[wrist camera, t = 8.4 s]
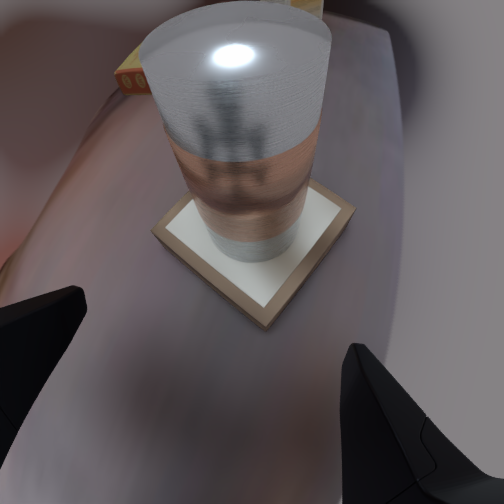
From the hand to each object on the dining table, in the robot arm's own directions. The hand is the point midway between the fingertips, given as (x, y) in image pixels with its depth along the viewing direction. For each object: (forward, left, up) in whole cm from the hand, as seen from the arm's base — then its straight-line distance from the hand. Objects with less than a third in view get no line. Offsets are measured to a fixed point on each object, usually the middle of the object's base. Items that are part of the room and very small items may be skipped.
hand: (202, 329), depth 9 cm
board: (+7, +4, -11) cm, 14 cm away
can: (+7, +4, -8) cm, 12 cm away
